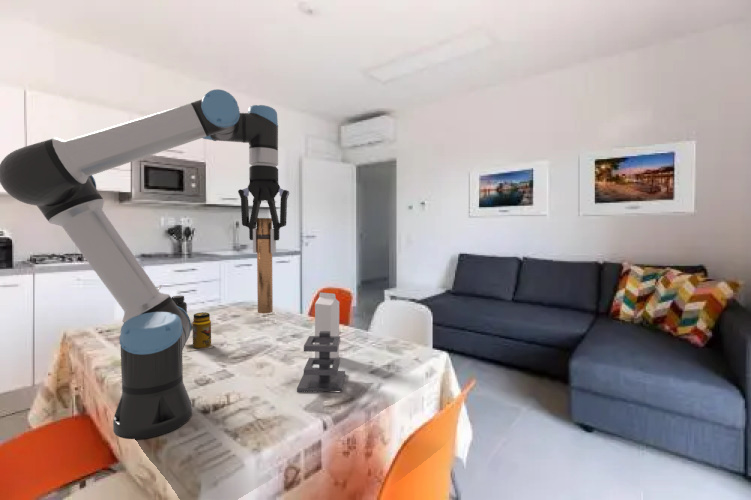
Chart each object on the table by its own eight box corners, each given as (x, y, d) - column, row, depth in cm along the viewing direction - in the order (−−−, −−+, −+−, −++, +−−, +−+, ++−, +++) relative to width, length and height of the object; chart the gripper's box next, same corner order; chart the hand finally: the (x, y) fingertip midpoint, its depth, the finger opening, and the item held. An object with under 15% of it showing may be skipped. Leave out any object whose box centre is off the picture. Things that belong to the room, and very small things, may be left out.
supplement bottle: (170, 322, 164) (169, 295, 164) (187, 320, 167) (186, 294, 166) (168, 326, 158) (168, 298, 157) (186, 324, 161) (186, 297, 160)
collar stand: (342, 392, 99) (342, 344, 98) (296, 391, 99) (297, 344, 98) (345, 374, 111) (345, 331, 110) (305, 373, 111) (305, 331, 110)
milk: (323, 354, 127) (323, 290, 126) (339, 356, 125) (339, 292, 124) (314, 360, 122) (314, 293, 120) (330, 362, 120) (331, 295, 118)
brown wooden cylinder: (270, 313, 101) (269, 218, 99) (255, 313, 101) (254, 217, 99) (274, 310, 105) (273, 218, 103) (260, 309, 105) (259, 218, 103)
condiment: (213, 347, 132) (213, 314, 132) (187, 351, 128) (186, 317, 127) (210, 342, 138) (209, 310, 138) (184, 345, 134) (184, 313, 133)
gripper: (298, 168, 104) (298, 251, 106) (237, 168, 104) (238, 251, 106) (292, 164, 97) (293, 253, 98) (226, 163, 96) (228, 253, 98)
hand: (264, 252), depth 102 cm, fingers closed on brown wooden cylinder, 4 cm apart
